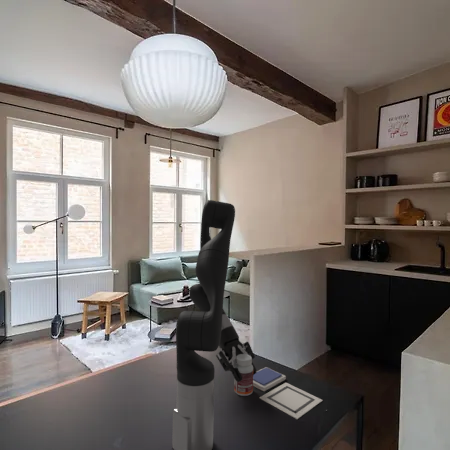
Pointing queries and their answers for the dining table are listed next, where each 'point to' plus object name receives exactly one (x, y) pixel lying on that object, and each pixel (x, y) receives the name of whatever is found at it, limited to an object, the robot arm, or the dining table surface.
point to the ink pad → (267, 379)
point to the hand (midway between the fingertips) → (247, 377)
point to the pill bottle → (244, 375)
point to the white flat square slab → (291, 400)
